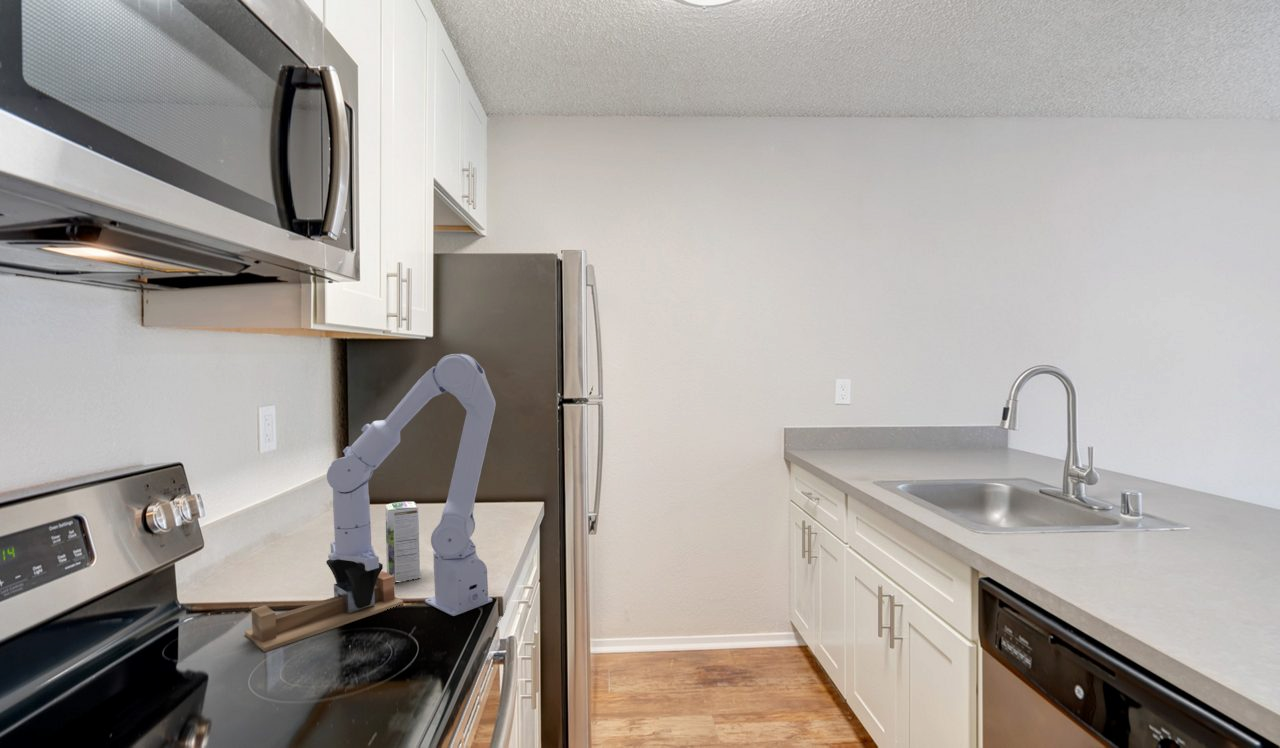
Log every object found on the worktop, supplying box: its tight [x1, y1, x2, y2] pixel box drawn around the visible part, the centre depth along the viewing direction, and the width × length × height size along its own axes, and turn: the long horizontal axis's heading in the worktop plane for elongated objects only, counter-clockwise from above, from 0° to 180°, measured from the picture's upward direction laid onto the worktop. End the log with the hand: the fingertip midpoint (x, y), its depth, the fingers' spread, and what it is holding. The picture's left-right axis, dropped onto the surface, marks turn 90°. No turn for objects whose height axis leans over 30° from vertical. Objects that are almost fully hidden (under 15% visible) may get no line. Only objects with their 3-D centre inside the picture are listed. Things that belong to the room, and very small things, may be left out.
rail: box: [244, 570, 404, 653], centre depth 104 cm, size 9×22×5 cm, turn 139°
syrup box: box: [385, 501, 421, 582], centre depth 122 cm, size 6×6×14 cm
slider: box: [333, 580, 375, 613], centre depth 107 cm, size 6×4×4 cm
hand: (355, 601), depth 107 cm, fingers closed on slider, 6 cm apart
